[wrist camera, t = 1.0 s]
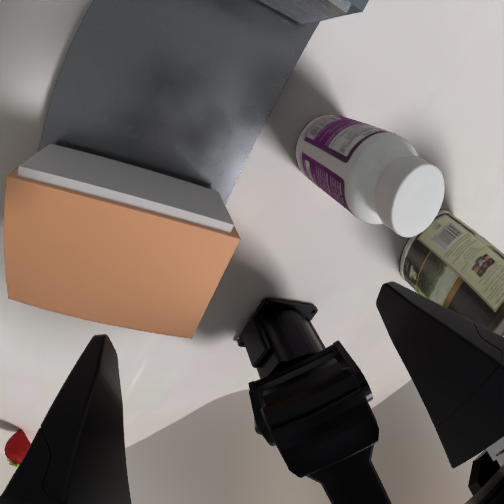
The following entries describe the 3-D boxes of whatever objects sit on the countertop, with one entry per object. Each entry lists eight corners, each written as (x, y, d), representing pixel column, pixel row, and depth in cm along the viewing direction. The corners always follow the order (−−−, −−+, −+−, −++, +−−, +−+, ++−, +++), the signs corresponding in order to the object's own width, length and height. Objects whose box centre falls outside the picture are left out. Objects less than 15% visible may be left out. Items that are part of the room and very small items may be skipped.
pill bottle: (349, 182, 22) (434, 246, 14) (289, 181, 20) (367, 256, 13) (360, 117, 19) (462, 158, 11) (297, 108, 17) (396, 143, 10)
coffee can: (419, 288, 34) (481, 361, 23) (385, 267, 29) (466, 361, 18) (462, 230, 31) (535, 294, 19) (438, 193, 25) (537, 269, 14)
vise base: (185, 283, 23) (197, 346, 18) (32, 245, 17) (1, 304, 12) (326, 0, 13) (388, -17, 8) (150, -72, 7) (150, -123, 2)
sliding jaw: (183, 287, 21) (191, 338, 17) (32, 251, 16) (8, 298, 12) (224, 192, 18) (244, 230, 14) (45, 141, 13) (7, 166, 9)
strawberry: (44, 437, 33) (43, 483, 25) (19, 435, 32) (18, 478, 24) (24, 424, 30) (22, 473, 22) (0, 422, 28) (-3, 467, 21)
